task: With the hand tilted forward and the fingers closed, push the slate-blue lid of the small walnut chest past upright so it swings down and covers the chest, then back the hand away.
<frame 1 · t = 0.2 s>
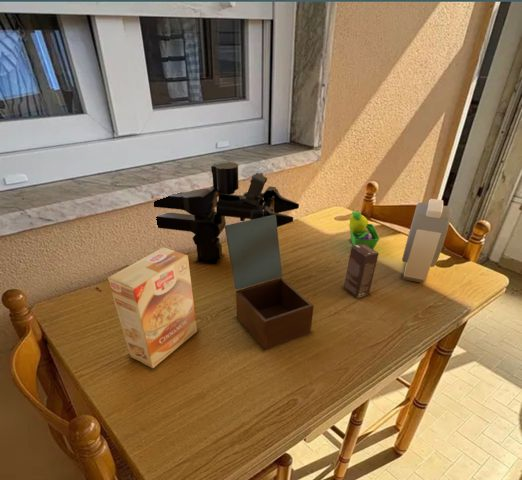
hand: (296, 212, 100), 17 cm above the table, tool horizontal, fingers open, 9 cm apart
box: (356, 291, 102), on the table
chest: (272, 325, 90), on the table
fruit basket: (359, 246, 122), on the table
lid: (255, 252, 86), point 15 cm above the table, hinge at 106.1°
coffeecake box: (165, 344, 85), on the table
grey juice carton: (414, 272, 110), on the table
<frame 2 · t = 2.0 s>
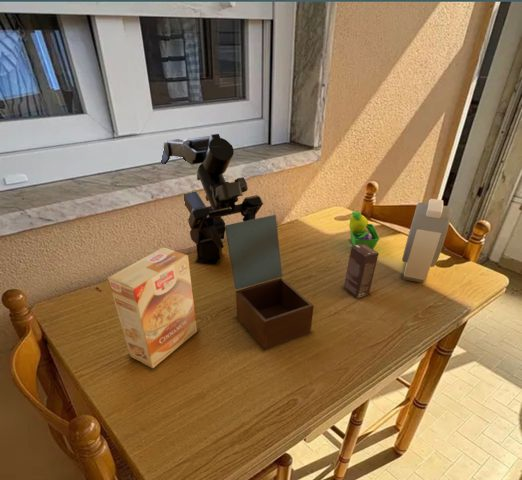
hand: (238, 243, 94), 13 cm above the table, tool tilted 45°, fingers open, 9 cm apart
nothing on the table moved.
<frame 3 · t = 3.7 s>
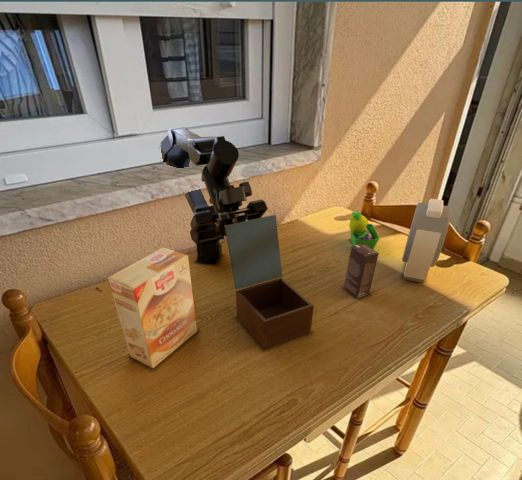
hand: (241, 249, 92), 13 cm above the table, tool tilted 45°, fingers closed
nothing on the table moved.
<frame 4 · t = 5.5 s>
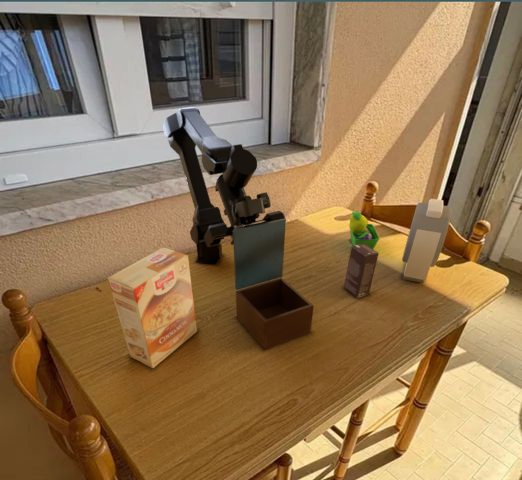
hand: (258, 263, 87), 13 cm above the table, tool tilted 45°, fingers closed, pressing on lid
lid: (259, 255, 85), point 15 cm above the table, hinge at 88.9°, touching gripper
everything else where it was.
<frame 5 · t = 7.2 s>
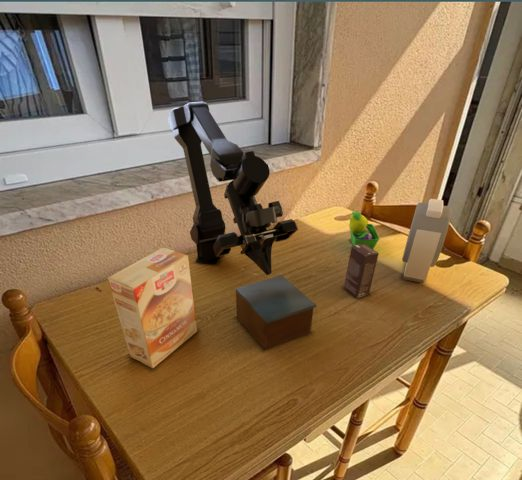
hand: (269, 274, 83), 13 cm above the table, tool tilted 45°, fingers closed
lid: (274, 297, 85), point 8 cm above the table, hinge at -0.2°
everything else where it was.
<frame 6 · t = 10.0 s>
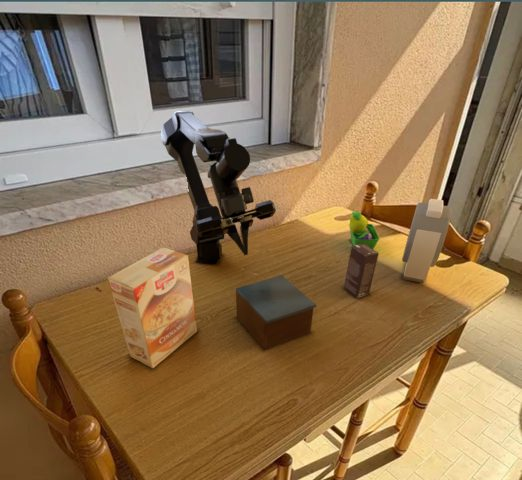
hand: (246, 254, 91), 12 cm above the table, tool tilted 35°, fingers closed
nothing on the table moved.
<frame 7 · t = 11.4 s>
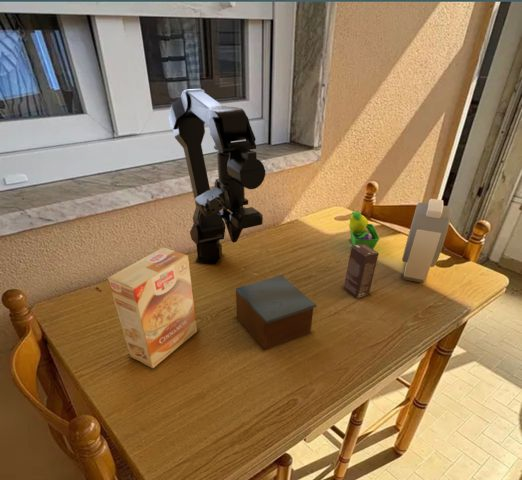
hand: (234, 241, 94), 13 cm above the table, tool pointing down, fingers closed
nothing on the table moved.
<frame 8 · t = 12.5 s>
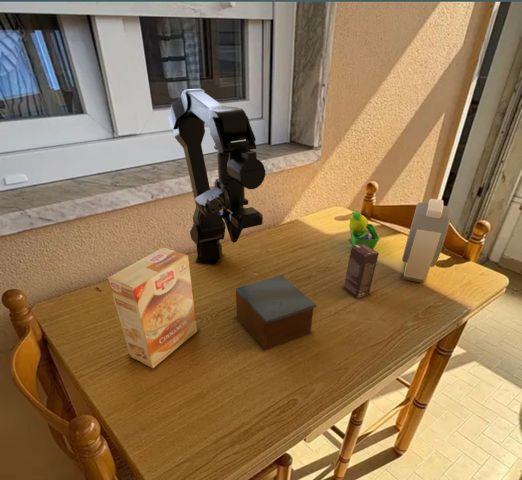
hand: (234, 241, 94), 13 cm above the table, tool pointing down, fingers closed
nothing on the table moved.
at the end: lid at +0° (first picture: +106°) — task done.
